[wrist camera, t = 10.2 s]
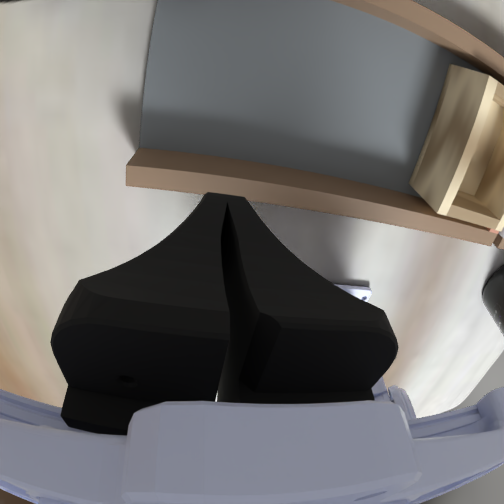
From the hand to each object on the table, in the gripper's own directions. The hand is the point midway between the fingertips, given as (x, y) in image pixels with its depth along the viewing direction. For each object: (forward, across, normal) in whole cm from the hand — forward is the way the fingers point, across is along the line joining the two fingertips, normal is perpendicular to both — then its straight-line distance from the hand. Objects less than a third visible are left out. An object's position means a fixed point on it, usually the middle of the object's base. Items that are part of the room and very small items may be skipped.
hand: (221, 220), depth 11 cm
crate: (+9, -16, -4) cm, 19 cm away
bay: (+9, -10, -4) cm, 14 cm away
